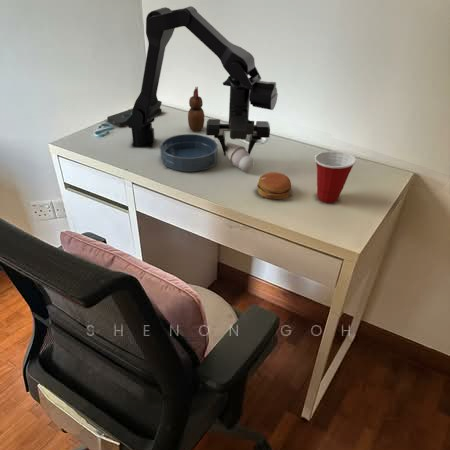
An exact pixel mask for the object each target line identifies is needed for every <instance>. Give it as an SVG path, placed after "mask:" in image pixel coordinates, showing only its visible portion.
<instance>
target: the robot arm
mask: <svg viewBox="0 0 450 450" xmlns="http://www.w3.org/2000/svg"><path fill="white" fill-rule="evenodd" d="M182 27H185V28H186V29H187V30H188V31H189V32H191V33H192V34H193V36H194V37H196V38H197V39H198V40H199V41H200V42H201V43H202V44H203V45H204V46H205V47H207V48H208V49H209V50H210V51H211V52H212V53H213V54H214V55H215V56H216V57H217V58H218V59H219V60H220V63H221V65H222V67H223V69H224V70H225V71H226V73H227V74H228V77H227V79H226V80H225V81H223V82H222V85H223V86H224V87H225V86H226V87H229V104H228V105H229V107H228V108H229V109H228V123H221V119H219V118H218V119H216V118H215V119H214V118H208V120H207V121H206V127H205V133H206V135H205V136H213V137H214V139H217V140H218V141H219V144H220V146H221V149H222V154H223V156H225V157H226V156H227V152H226V145H225V141H226V133H225V132H229V138H230V139H231V140H241V141H245V140H246V139H247V137H248V136H249V141H248V147H247V152H248V153H249V155H251V153H252V151H253V148H254V146H255V145H256V143H257V141H260V140H262V139H263V138H265V139H268V138H270V137H271V136H270V135H271V126H270V125H271V124H270V122H269V121H267V120H265V121H264V120H256V122H255V120H250V119H249V116H250V105H252V107H255V108H259V109H264V110H270V111H273V110H274V109H275V108H276V105H277V101H278V97H279V96H278V95H279V94H278V89H277V82H275V81H264V80H262V77H261V75H260V72H259V71H258V69H257V67H256V64H255V57H254V55H253V54H252V53H251V52H249V51H247V50H246V49H245V48H243V47H241V46H239V45H236V44H234V43H232V42H231V41H229V40H228V39H227V38H226V37H225V36H224V35H223V34H221V32H219V30H217V28H215V27H214V26H213V25H212V24H211V23H210V22H209V21H208V20H207V19H206V18H204V16H203V15H201V14H200V13H199V12H198V10H197V9H196V8H195V7H194V6H187V7H184V8H178V9H170V8H169V7H161V8H157V9H155V10H151V11H150V12H148V13H147V14H146V19H145V35H146V39H147V42H148V46H147V50H146V51H147V52H146V59H145V64H144V70H143V75H142V76H143V77H142V81H141V82H142V83H141V89H140V93H139V94H138V96H137V97H136V99H135V101H134V104H133V107H132V109H133V110H132V115H131V116H130V117H129V118H128V119H127V121H126V123H127V127H128V129H131V136H132V144H131V145H132V147H136V148H137V147H140V148H152V147H153V144H154V142H155V140H156V137H155V128H154V127H153V124H152V123H154V122H155V118H156V117H157V116H159V115H160V114H159V113H160V109H161V106H162V103H163V102H162V101H161V100H159V99H158V96H157V94H158V90H159V89H158V88H159V83H160V77H161V73H162V67H163V62H164V57H165V53H166V47H167V46H168V44H169V42H170V40H171V38H173V35H174V32H175V29H177V28H182ZM158 114H159V115H158Z"/></svg>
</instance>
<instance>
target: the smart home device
mask: <svg viewBox="0 0 450 450" xmlns="http://www.w3.org/2000/svg"><path fill="white" fill-rule="evenodd" d="M132 110H133V108H130V109H128V110H124V111H122V112H118V113H115V114H111V115H109V116H107V117H106V118H107V122H108V123H110V124H112V125H114V126H116V127H119V128H124V127H126V126H127V127H128V125H127V123H126V121H127V119H128V118H129V117H130V116H131V115H132ZM161 114H162V108H160V113H159V114H158V115H157V116H159V115H161Z"/></svg>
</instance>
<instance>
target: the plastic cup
mask: <svg viewBox="0 0 450 450" xmlns="http://www.w3.org/2000/svg"><path fill="white" fill-rule="evenodd" d="M314 162H315V164H316V196H317V199H318V200H319V201H320V202H322V203H325V204H334V203H336V202H337V201H338V199H339V198H340V195H341V193H342V192H343V190H344V187H345V185H346V182H347V180H348V177H349V175H350V173H351V171H352V169H353V167H354V165H355V164H356V162H357V158H356V156H355V155H353V154H351V153H348V152H346V151H340V150H327V151H326V150H325V151H321V152H319V153H317V154H316V155H315V156H314Z"/></svg>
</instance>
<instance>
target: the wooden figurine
mask: <svg viewBox="0 0 450 450" xmlns="http://www.w3.org/2000/svg"><path fill="white" fill-rule="evenodd" d="M188 100H189V101H188V106H189V107H190V108H189V109H188V112H187V124H188V128H189V129H190V131H192V132H195V133H197V132H201V131H202V130H204V126H205V112H204V109H203V108H202V107H203V99H202V97H201V96H199V87H198V86H195V87H194V90H193V93H192V96H190V97H189V99H188Z"/></svg>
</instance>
